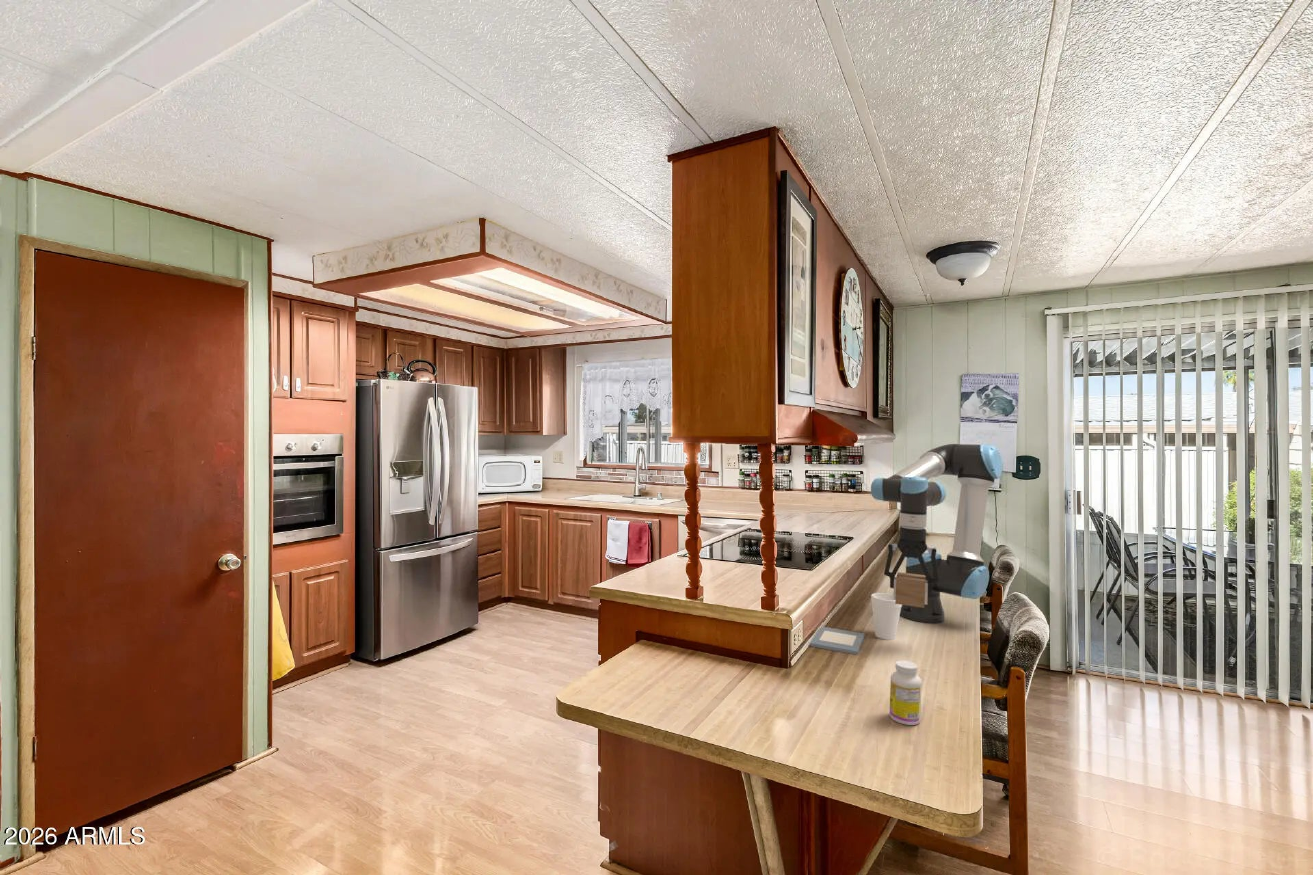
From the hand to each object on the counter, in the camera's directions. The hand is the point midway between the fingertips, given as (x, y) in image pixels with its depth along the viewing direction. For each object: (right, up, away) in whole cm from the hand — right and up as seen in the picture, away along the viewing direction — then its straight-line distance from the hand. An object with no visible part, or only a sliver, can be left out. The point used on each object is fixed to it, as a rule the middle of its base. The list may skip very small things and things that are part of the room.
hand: (910, 601), depth 182 cm
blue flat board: (-20, -15, +6) cm, 26 cm away
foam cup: (-3, -15, +13) cm, 20 cm away
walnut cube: (0, 0, 0) cm, 0 cm away
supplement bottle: (-20, -15, -45) cm, 51 cm away
